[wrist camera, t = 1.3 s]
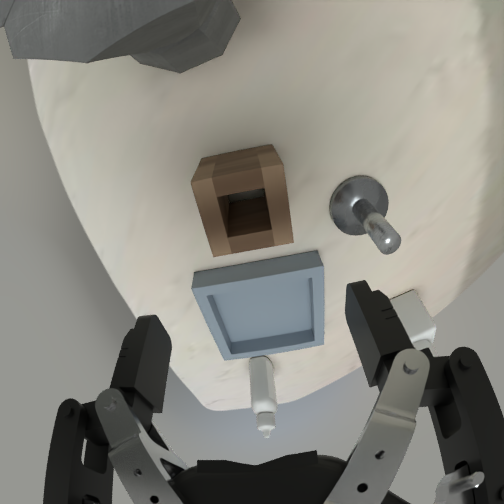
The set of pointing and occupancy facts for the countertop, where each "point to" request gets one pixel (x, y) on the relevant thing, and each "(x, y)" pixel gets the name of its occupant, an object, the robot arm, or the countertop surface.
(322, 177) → the countertop surface
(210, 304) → the tray
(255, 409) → the eye dropper bottle
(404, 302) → the medicine bottle
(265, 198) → the block
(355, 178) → the grey metal coffee tamper
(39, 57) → the coffeepot
